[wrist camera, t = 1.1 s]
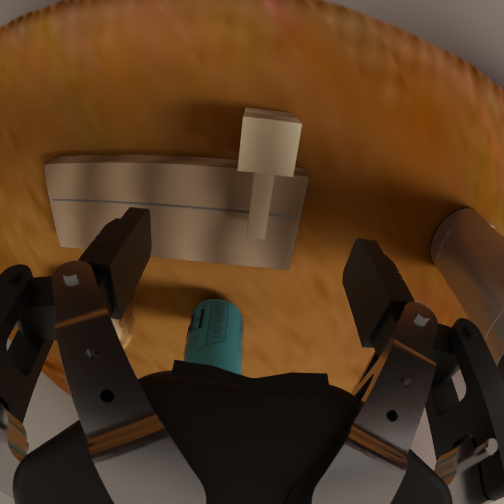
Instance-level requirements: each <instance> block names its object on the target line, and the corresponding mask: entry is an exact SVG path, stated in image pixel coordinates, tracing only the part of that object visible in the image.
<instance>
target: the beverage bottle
mask: <svg viewBox="0 0 504 504" xmlns="http://www.w3.org/2000/svg"><path fill="white" fill-rule="evenodd" d="M193 310H194V311H193V313H192V316H191V317H192V319H191V318H190V319H191V323H190V324H189V328H188V333H189V334H188V333H187V336H188V339H187V337H186V340H187V345H186V343H185V345H186V350H185V348H184V350H185V351H184V352H185V356H184V361H185V362H192V363H199V364H206V365H213V366H216V367H219V368H222V369H225V370H227V371H230V372H233V373H236V374H240V375H241V362H242V360H243V359H242V353H243V352H242V349H243V348H242V345H243V344H242V338H243V337H242V331H243V332H244V328H242V327H243V326H242V323H243V325H244V322H243V320H242V319H243V318H242V314H241V312H240V310H239V309H238V308H237V307H236V306H235V305H234V304H232V303H230V302H228V301H225V300H221V299H209V300H205V301H202V302H200V303H199V304H198V305H197V306H196V307H195V308H194V309H193ZM243 336H244V335H243ZM183 354H184V353H183ZM242 369H243V368H242Z"/></svg>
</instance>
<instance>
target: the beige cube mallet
mask: <svg viewBox="0 0 504 504" xmlns="http://www.w3.org/2000/svg"><path fill="white" fill-rule="evenodd" d="M301 127H302V123H301V122H300V121H299V120H298V119H297V118H296V117H295V116H294V115H293V114H292V113H289V112H282V111H274V110H266V109H258V108H248V107H246V108H245V112H244V115H243V122H242V132H241V141H240V151H239V161H238V171H245V172H254V176H253V184H252V192H251V200H250V209H249V217H248V226H247V238H254V239H265V234H266V228H267V222H268V215H269V209H270V202H271V196H272V189H273V183H274V176H275V175H280V176H288V177H293V174H294V168H295V163H296V157H297V151H298V145H299V139H300V134H301Z"/></svg>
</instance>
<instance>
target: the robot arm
mask: <svg viewBox="0 0 504 504" xmlns="http://www.w3.org/2000/svg"><path fill="white" fill-rule="evenodd" d="M151 249H152V239H151V215H150V210H149V209H146V208H136V207H129V208H128V210H127V211H126V212H125V213H124V215H123V216H122V217H121V218H116V219H114V220H112V221H111V222H109V223H107V224H106V225H105V226H104V227H103V229H102V230H101V231H100V234H98V235H97V236H96V237H95V240H93V241H92V243H91V244H90V245H89V246H88V248H87V249H86V250H85V252H84V253H83V254H82V256H81V257H80V258H79V260H78V261H70V262H66V263H64V264H62V265H60V266H59V267H58V268H57V269H56V270H55V271H54V272H53V274H52V276H50V277H36V278H33V275H32V272H31V269H30V268H29V267H28V266H26V265H22V264H19V265H14V266H11V267H9V268H7V269H6V270H5V271H3V272H2V273H1V275H0V491H2V492H4V493H5V494H7V495H9V496H11V497H12V498H14V501H15V504H489V503H491V502H493V501H496V500H498V499H500V498H503V497H504V237H503V236H502V235H501V234H500V233H499V232H498V231H497V230H496V229H495V228H494V227H493V226H492V225H491V224H490V223H489V222H488V221H487V220H486V219H485V218H484V217H483V216H482V215H481V214H479V213H478V212H477V211H476V210H474V209H471V208H463V209H460V210H457V211H455V212H453V213H452V214H451V215H449V216H448V217H447V218H446V219H445V220H444V221H443V222H442V223H441V224H440V226H439V227H438V229H437V230H436V232H435V234H434V236H433V239H432V242H431V248H430V255H431V258H432V261H433V262H434V264H435V265H436V267H437V268H438V270H439V271H440V273H441V274H442V276H443V277H444V279H445V280H446V282H447V283H448V285H449V286H450V288H451V290H452V291H453V293H454V294H455V296H456V297H457V299H458V301H459V302H460V304H461V305H462V307H463V309H464V310H465V312H466V314H467V315H468V317H469V319H470V320H468V319H465V318H459V319H457V321H456V322H455V323H454V325H453V326H452V327H448V326H445V325H442V324H439V323H438V320H437V317H436V315H435V314H434V312H433V311H432V310H431V309H430V308H428V307H427V306H426V305H424V304H422V303H419V302H415V301H414V299H413V297H412V295H411V293H410V291H409V289H408V287H407V286H406V284H405V282H404V280H402V279H403V278H402V276H401V275H400V273H399V271H398V269H397V267H396V266H395V264H394V262H392V261H391V260H390V259H389V258H388V257H387V256H386V255H385V254H384V253H383V252H382V250H381V248H380V247H379V245H378V243H377V242H376V241H374V240H368V239H362V238H358V239H357V240H356V241H355V243H354V245H353V248H352V250H351V253H350V256H349V258H348V261H347V263H346V266H345V268H344V271H343V286H344V289H345V292H346V295H347V298H348V301H349V304H350V308H351V311H352V314H353V317H354V321H355V324H356V327H357V331H358V334H359V338H360V341H361V345H362V347H369V348H374V349H375V352H374V354H373V355H372V356H371V358H370V360H369V362H368V364H367V366H366V367H365V369H364V371H363V373H362V375H361V377H360V378H359V380H358V382H357V384H356V385H355V387H354V389H353V390H352V392H351V393H349V392H347V391H345V390H343V389H341V388H338V387H336V386H333V385H329V382H328V376H327V374H324V373H293V372H292V373H286V374H280V375H274V376H268V377H261V378H249V377H246V376H243V375H240V374H236V373H233V372H230V371H227V370H225V369H222V368H219V367H216V366H213V365H206V364H199V363H192V362H185V361H179V360H174V365H173V369H172V371H162V372H157V373H153V374H149V375H147V376H144V377H142V378H139V379H137V377H136V375H135V373H134V371H133V369H132V366H131V364H130V362H129V360H128V358H127V356H126V353H125V351H124V349H123V347H122V344H121V342H120V340H119V337H118V335H117V332H116V330H115V327H114V325H113V322H112V320H111V318H114V319H118V320H122V317H123V315H124V313H125V310H126V308H127V306H128V304H129V301H130V299H131V297H132V295H133V292H134V290H135V288H136V286H137V284H138V282H139V280H140V277H141V275H142V273H143V271H144V269H145V267H146V265H147V263H148V261H149V258H150V255H151ZM15 324H16V325H17V327H18V328H19V329H18V331H17V333H16V335H15V337H14V339H13V341H12V343H11V345H10V347H9V349H8V351H7V348H6V344H7V339H8V337H9V335H10V333H11V331H12V330H13V328H14V326H15ZM54 340H57V343H58V347H59V352H60V356H61V360H62V364H63V368H64V372H65V376H66V379H67V383H68V386H69V390H70V393H71V396H72V399H73V402H74V405H75V408H76V411H77V414H78V417H79V420H78V421H77V422H75V423H74V424H72V425H71V426H69V427H68V428H66V429H65V430H63V431H62V432H60V433H59V434H58V435H56V436H55V437H53V438H51V439H50V440H48V441H47V442H45V443H44V444H43V445H41V446H39V447H38V448H36V449H35V450H33V451H32V452H30V453H29V454H27V452H28V450H29V444H28V442H27V435H26V431H25V428H24V426H23V421H24V417H25V414H26V411H27V408H28V405H29V402H30V399H31V396H32V393H33V391H34V388H35V385H36V382H37V380H38V377H39V375H40V372H41V369H42V367H43V365H44V362H45V360H46V357H47V355H48V353H49V350H50V348H51V346H52V343H53V341H54ZM459 369H460V370H461V372H462V375H463V378H464V381H465V383H466V394H465V396H464V398H463V399H462V400H461V401H460V402H459V399H458V396H457V393H456V389H455V387H454V383H453V381H452V378H451V377H452V376H453V375H454V374H455V373H456V372H457V371H458V370H459ZM424 408H426V412H427V417H428V421H429V425H430V430H431V434H432V439H433V445H434V449H435V455H436V461H437V463H436V466H435V470H434V471H433V470H432V469H431V468H430V467H429V466H427V465H426V464H425V463H424V462H423V461H422V460H421V459H420V458H419V457H418V456H417V455H416V454H415V453H414V452H413V451H412V450H411V449H410V446H411V444H412V441H413V439H414V436H415V433H416V431H417V428H418V425H419V423H420V420H421V417H422V414H423V411H424Z"/></svg>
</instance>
